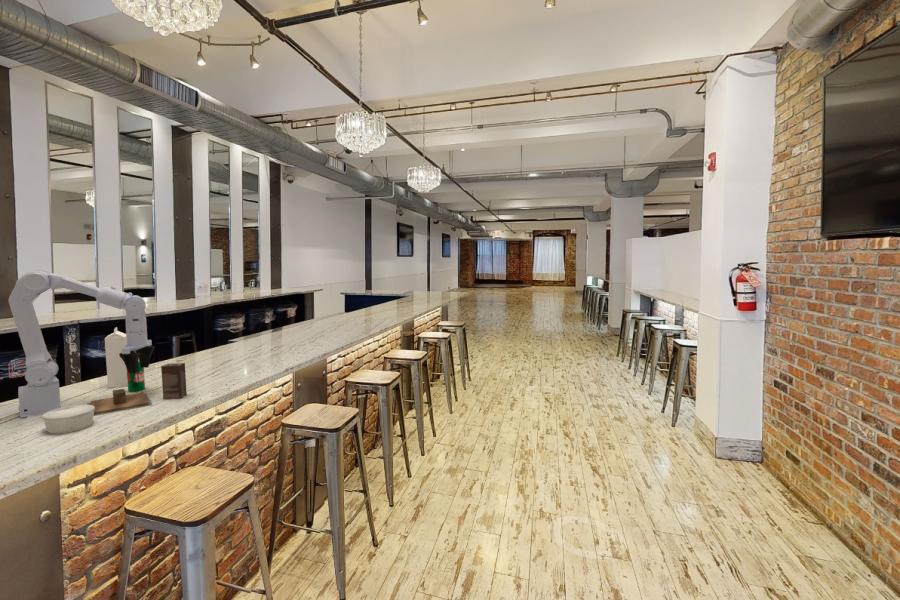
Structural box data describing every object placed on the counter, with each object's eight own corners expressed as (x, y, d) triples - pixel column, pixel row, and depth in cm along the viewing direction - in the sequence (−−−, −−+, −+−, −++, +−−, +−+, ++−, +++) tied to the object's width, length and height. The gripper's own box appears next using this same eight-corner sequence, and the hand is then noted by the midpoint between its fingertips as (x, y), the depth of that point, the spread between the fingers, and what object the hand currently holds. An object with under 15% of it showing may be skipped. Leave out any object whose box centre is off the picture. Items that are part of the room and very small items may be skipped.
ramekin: (82, 419, 129) (80, 402, 129) (104, 424, 125) (103, 407, 125) (34, 432, 119) (33, 414, 118) (57, 439, 115) (56, 420, 114)
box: (187, 395, 151) (185, 362, 150) (181, 399, 147) (179, 365, 146) (168, 396, 150) (166, 362, 149) (162, 400, 146) (160, 366, 145)
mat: (89, 418, 130) (89, 416, 129) (87, 404, 141) (87, 403, 141) (153, 406, 140) (152, 405, 140) (146, 394, 152) (146, 393, 152)
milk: (108, 388, 159) (103, 329, 156) (111, 384, 164) (106, 327, 162) (128, 386, 162) (124, 328, 159) (130, 382, 167) (126, 326, 165)
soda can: (136, 393, 153) (134, 360, 152) (124, 392, 154) (122, 360, 153) (148, 389, 158) (146, 357, 157) (137, 388, 159) (135, 356, 158)
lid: (93, 415, 131) (92, 401, 130) (91, 403, 141) (90, 390, 141) (148, 404, 140) (148, 392, 140) (143, 394, 151) (142, 382, 150)
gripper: (137, 334, 140) (140, 375, 142) (160, 327, 155) (162, 364, 156) (113, 335, 139) (116, 376, 140) (138, 328, 153) (140, 365, 155)
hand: (138, 370), depth 148 cm, fingers open, 7 cm apart
